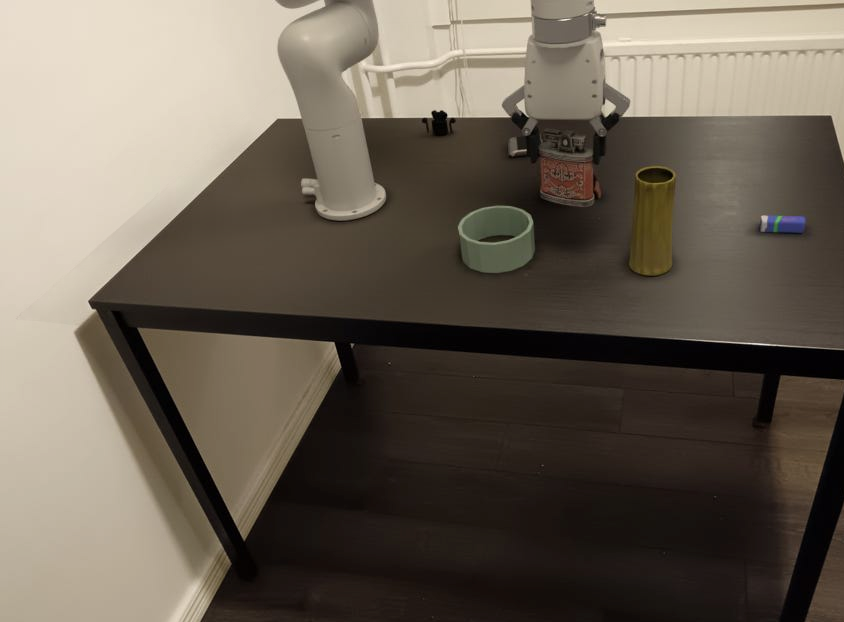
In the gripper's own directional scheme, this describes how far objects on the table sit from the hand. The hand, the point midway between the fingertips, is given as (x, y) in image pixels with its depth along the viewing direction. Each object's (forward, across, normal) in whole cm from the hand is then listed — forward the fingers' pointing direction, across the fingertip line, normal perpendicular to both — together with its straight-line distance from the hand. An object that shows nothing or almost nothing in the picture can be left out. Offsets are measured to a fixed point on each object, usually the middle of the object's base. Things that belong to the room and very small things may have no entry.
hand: (566, 158), depth 103 cm
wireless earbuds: (+16, +33, -42) cm, 56 cm away
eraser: (+16, -30, -10) cm, 35 cm away
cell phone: (+16, +12, -36) cm, 41 cm away
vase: (+16, -12, +1) cm, 20 cm away
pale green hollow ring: (+16, +11, 0) cm, 19 cm away
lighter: (+6, 0, 0) cm, 6 cm away
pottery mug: (+16, +3, -19) cm, 25 cm away
